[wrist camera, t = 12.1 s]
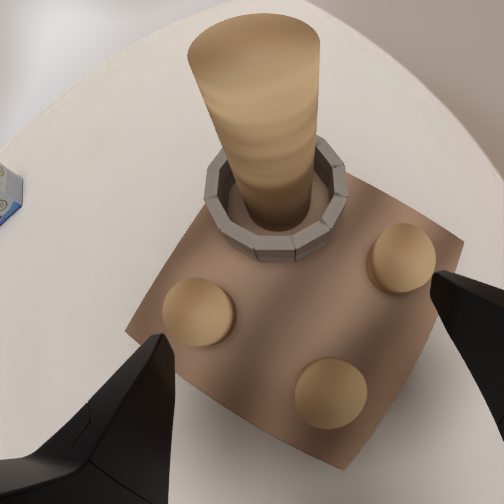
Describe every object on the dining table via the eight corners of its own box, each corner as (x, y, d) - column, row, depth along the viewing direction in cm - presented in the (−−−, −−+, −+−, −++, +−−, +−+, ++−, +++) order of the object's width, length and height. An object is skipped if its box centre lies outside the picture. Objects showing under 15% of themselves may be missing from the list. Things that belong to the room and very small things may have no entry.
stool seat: (455, 247, 19) (484, 228, 15) (340, 462, 16) (350, 490, 12) (259, 143, 24) (251, 107, 19) (134, 332, 21) (100, 329, 17)
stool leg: (322, 210, 20) (348, 51, 7) (267, 244, 20) (222, 103, 7) (287, 164, 21) (272, 4, 9) (235, 193, 21) (170, 44, 9)
